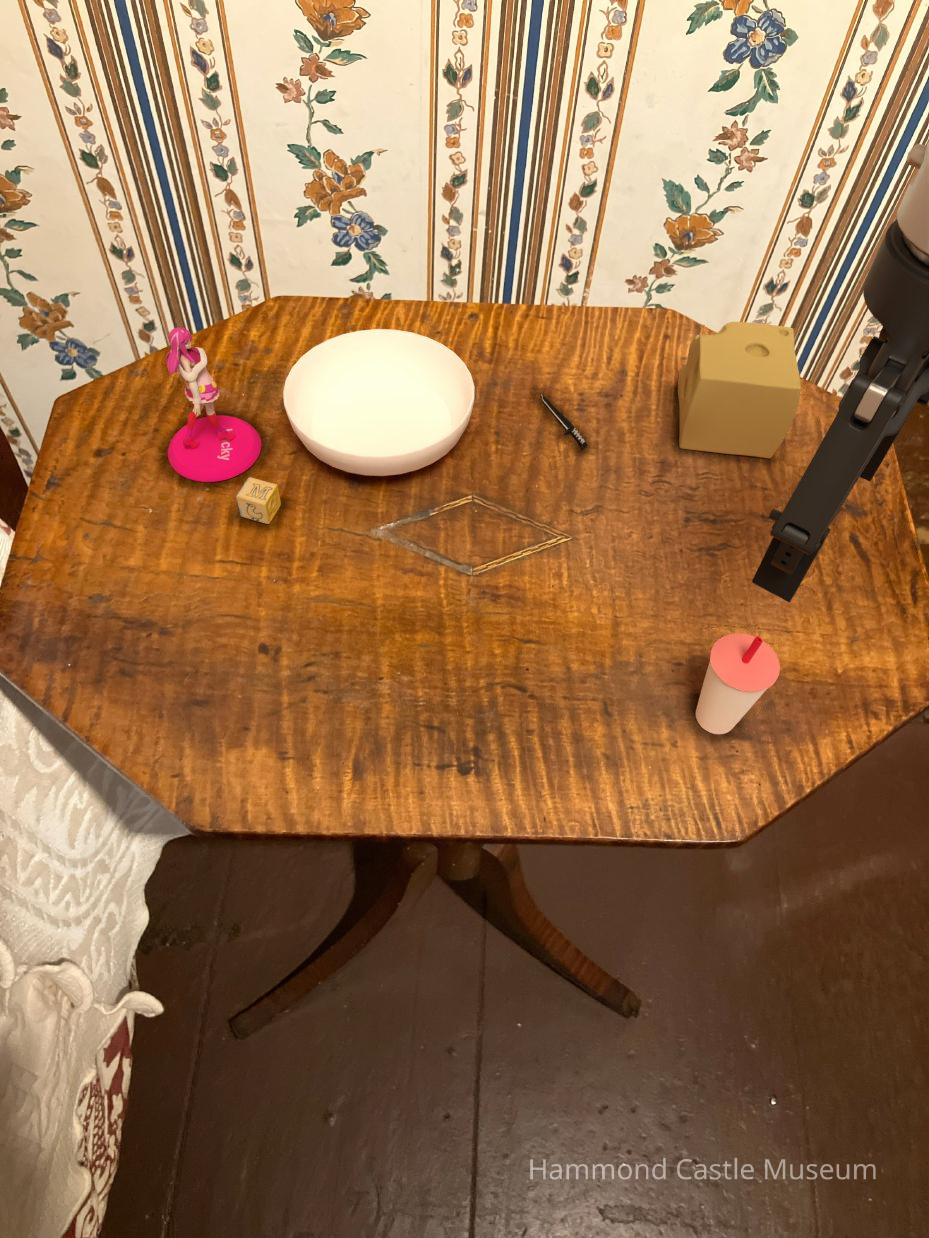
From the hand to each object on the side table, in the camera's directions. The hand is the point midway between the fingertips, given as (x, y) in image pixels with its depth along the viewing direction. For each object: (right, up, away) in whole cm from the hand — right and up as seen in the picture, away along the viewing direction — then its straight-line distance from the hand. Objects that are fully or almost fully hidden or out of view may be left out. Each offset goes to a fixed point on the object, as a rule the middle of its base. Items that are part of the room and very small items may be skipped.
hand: (815, 526), depth 60 cm
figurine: (-51, +11, +32) cm, 61 cm away
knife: (-13, +15, +36) cm, 41 cm away
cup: (-3, -15, +15) cm, 22 cm away
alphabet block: (-45, +4, +27) cm, 52 cm away
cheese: (+4, +15, +36) cm, 40 cm away
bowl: (-33, +13, +34) cm, 49 cm away
